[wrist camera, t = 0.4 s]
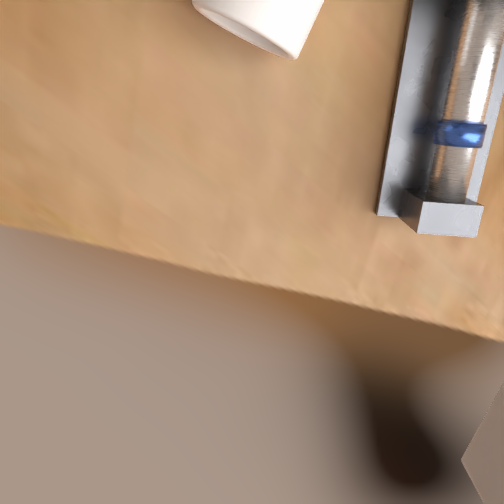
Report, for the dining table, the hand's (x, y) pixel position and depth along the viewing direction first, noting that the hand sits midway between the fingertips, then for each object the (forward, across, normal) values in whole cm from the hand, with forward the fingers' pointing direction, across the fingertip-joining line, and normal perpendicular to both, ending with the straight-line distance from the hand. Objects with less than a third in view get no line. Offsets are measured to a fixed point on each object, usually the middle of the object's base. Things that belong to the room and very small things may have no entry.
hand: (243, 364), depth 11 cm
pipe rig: (+27, +12, +12) cm, 32 cm away
